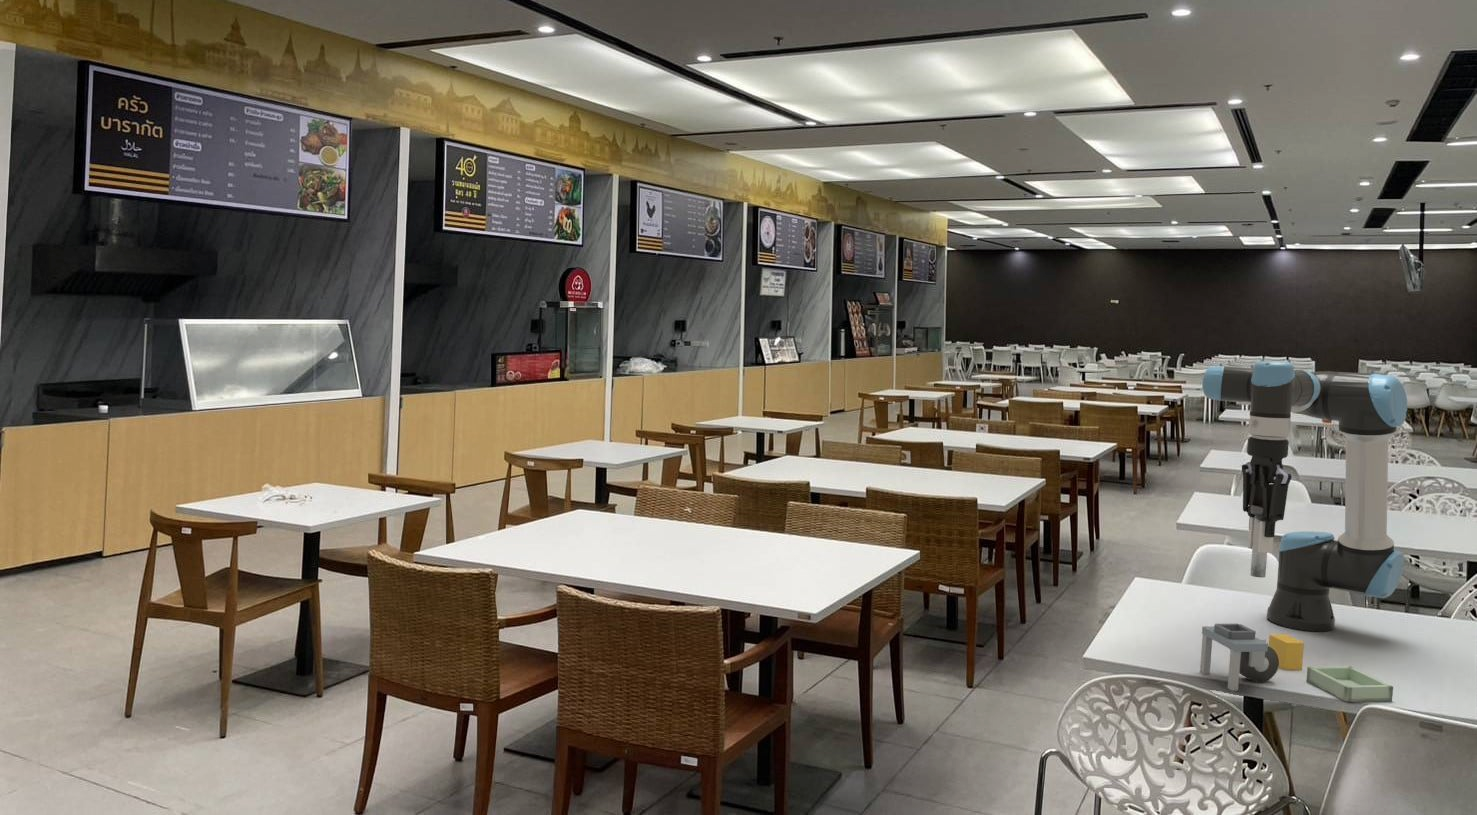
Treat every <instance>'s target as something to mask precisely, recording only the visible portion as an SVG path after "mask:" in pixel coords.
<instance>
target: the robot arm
mask: <svg viewBox="0 0 1477 815" xmlns="http://www.w3.org/2000/svg"><path fill="white" fill-rule="evenodd" d="M1203 374H1204V375H1203V377H1202V391H1203V393H1204V396H1205V397H1206V398H1207V399H1209V400H1214V401H1215V400H1216V401H1219V402H1220V401H1222V402H1223V401H1225V402H1234V403H1246V404H1250V407H1249V409H1250V410H1249V421H1248V434H1249V437H1248V438H1247V445H1246V447H1247V448H1246V453H1247V455H1248V456H1250V457H1251V459H1250V461H1249V463H1248V464H1242V465H1241V473H1242V511H1243V512H1245V513H1246V512H1247V516H1248V518H1249V520H1248V540H1247V541H1248V543H1247V549H1249V550H1252V545H1253V531H1254V518H1255V514H1251V505H1263V518H1260V530H1259V543H1258V552H1260V553H1267V554H1268V553H1273V551H1274V550H1273V549H1274V548H1273V547H1274V537H1275V534H1276V533H1275V532H1276V530H1275V529H1276V523H1277V522H1279V521H1283V520H1284V519H1285V513H1286V512H1285V511H1286V505H1287V496H1288V490H1289V485H1290V482H1291V480H1292V478H1293V476H1292V474H1291V473H1286V472H1285V471H1284V470H1283V469H1284V467H1283V459H1286V458H1287V457H1288V456H1289V445H1290V444H1289V443H1290V441H1289V440H1288V439H1287V438H1288V437H1290V434H1291V433H1290V432H1291V420H1292V419H1291V416H1292V413H1296V414H1299V415H1302V416H1306V417H1310V418H1316V419H1318V420H1319V419H1321V420H1326V421H1333V422H1335V421H1336V422H1338V432H1340V433H1341V434H1342V435H1343V436H1344V437H1345V491H1344V492H1345V499H1344V500H1345V501H1344V504H1345V506H1344V507H1345V509H1344V515H1345V516H1344V533H1342V534H1341V535H1339V536H1338V537H1337V540H1336V539H1335V535H1334V534H1333V533H1332V532H1326V531H1293V532H1287V533H1285V534H1283V535H1282V536H1281V539H1280V545H1279V549H1278V567H1277V581H1276V589H1275V592H1274V594H1273V596H1272V599H1271V601H1270V604H1269V606H1268V607H1267V611H1266V619H1267V620H1268V619H1269V620H1270V621H1269V620H1268V621H1269V622H1271V621H1272V622H1271V623H1273V622H1274V623H1273V624H1275V623H1277V624H1276V625H1278V624H1279V626H1281V625H1282V627H1285V628H1289V629H1294V630H1301V631H1309V632H1326V631H1327V632H1328V631H1333V630H1334V629H1335V624H1336V623H1335V622H1336V618H1335V616H1334V610H1333V607H1332V604H1331V603H1332V602H1331V599H1330V589H1333V590H1339V591H1344V592H1347V593H1348V592H1349V593H1352V594H1357V595H1362V596H1366V597H1372V598H1373V597H1374V598H1379V599H1385V598H1389V597H1390V596H1392V595H1393V593H1394V592H1395V591H1396V588H1397V587H1398V585H1399V583H1400V580H1401V578H1402V574H1403V571H1404V564H1405V558H1404V555H1403V553H1402V552H1400V551H1398V550H1395V541H1394V539H1392V538H1391V537H1390V535H1389V536H1388V534H1387V533H1388V531H1387V530H1388V527H1387V526H1388V484H1389V483H1388V482H1389V479H1388V477H1389V476H1388V475H1389V472H1388V470H1389V439H1390V437H1392V436H1393V435H1394V434H1396V433H1397V428H1398V427H1400V426H1402V425H1403V424H1404V423H1405V421H1406V418H1407V412H1408V398H1407V397H1408V396H1407V392H1406V390H1405V387H1404V385H1403V383H1402V382H1401V380H1400V379H1399V378H1397V377H1396V376H1393V375H1386V374H1379V373H1378V372H1377V373H1369V372H1368V373H1367V372H1346V371H1345V372H1344V371H1328V370H1327V371H1326V370H1325V371H1324V370H1323V371H1308V370H1303V369H1295V365H1294V364H1293V363H1291V362H1287V361H1286V362H1285V361H1284V362H1283V361H1263V360H1262V361H1257V362H1256V363H1255V364H1254V365H1253V368H1252V367H1238V366H1226V365H1222V366H1221V365H1219V366H1218V365H1217V366H1216V365H1213V366H1210V367H1209V368H1207V369H1206V371H1205V372H1204V373H1203Z"/></svg>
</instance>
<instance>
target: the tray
mask: <svg viewBox="0 0 1477 815" xmlns="http://www.w3.org/2000/svg"><path fill="white" fill-rule="evenodd" d="M1306 668H1307V669H1306V670H1307V671H1306V682H1308V683H1310V684H1312V685H1313V686H1315V687H1317V688H1319V689H1321V690H1323V691H1325V690H1326V691H1328V692H1330V693H1332V694H1334V695H1336V696H1338V697H1339V698H1338V697H1337V698H1338V699H1340V698H1341V699H1340V700H1342V699H1343V700H1342V701H1344V702H1346V703H1358V702H1359V703H1361V702H1362V703H1363V702H1365V703H1366V702H1369V703H1370V702H1371V703H1372V702H1392V701H1393V695H1394V686H1393V685H1391V684H1390V683H1387V682H1384V681H1383V680H1380V679H1378V678H1376V677H1374V676H1373V675H1369V674H1368V673H1366V672H1364V671H1361V670H1359V669H1358V668H1355V667H1353V666H1352V665H1351V666H1350V665H1349V666H1347V665H1346V666H1345V665H1343V666H1307V667H1306ZM1326 691H1325V692H1326ZM1328 692H1327V693H1328ZM1330 693H1329V694H1330ZM1332 694H1331V695H1332ZM1334 695H1333V696H1334ZM1336 696H1335V697H1336Z"/></svg>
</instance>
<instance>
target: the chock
mask: <svg viewBox="0 0 1477 815" xmlns="http://www.w3.org/2000/svg"><path fill="white" fill-rule="evenodd" d="M1268 639H1269V640H1268V646H1269V647H1271V648H1272V649H1274V650H1275V652H1276V653H1277V655H1278V659H1279V666H1278V668H1280V669H1282V670H1284V671H1286V670H1287V671H1292V670H1293V671H1294V670H1295V671H1296V670H1298V671H1299V670H1300V671H1301V670H1302V669H1303V659H1304V648H1305V647H1304V645H1305V643H1304V642H1303V641H1301V640H1298V639H1296V638H1294V637H1292V636H1290V635H1289V634H1284V633H1283V634H1282V633H1281V634H1269V638H1268Z"/></svg>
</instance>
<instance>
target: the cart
mask: <svg viewBox="0 0 1477 815" xmlns="http://www.w3.org/2000/svg"><path fill="white" fill-rule="evenodd" d="M1201 634H1202V638H1201V640H1202V641H1201V651H1200V664H1199V666H1200V667H1199V672H1200V673H1201V674H1203V675H1210V673H1211V664H1212V662H1211V661H1212V649H1213V648H1212V647H1213V641H1214V642H1217V643H1218V644H1220V645H1221V646H1224V647H1226V648H1227V649H1229V650H1230V652H1229V653H1230V654H1229V662H1228V663H1229V664H1228V665H1229V666H1228V680H1227V689H1228V690H1230V691H1231V692H1235V691H1239V684H1240V683H1239V681H1240V675H1241V676H1243V677H1245V678H1246V679H1247V680H1250V681H1251V682H1253V683H1259V684H1261V683H1265V682H1269V680H1272V678H1273V677H1274V676H1276V673H1277V672H1278V668H1279V659H1278V655H1277V653H1276V652H1275V650H1274V649H1272V648H1271V647H1269V643H1267V640H1266V639H1264V638H1257V637H1256V630H1254V629H1252V628H1249V627H1248V626H1246V625H1243V624H1241V623H1215V624H1214V625H1213V626H1212V625H1210V626H1208V625H1206V626H1205V625H1204V626H1202V627H1201Z"/></svg>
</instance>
